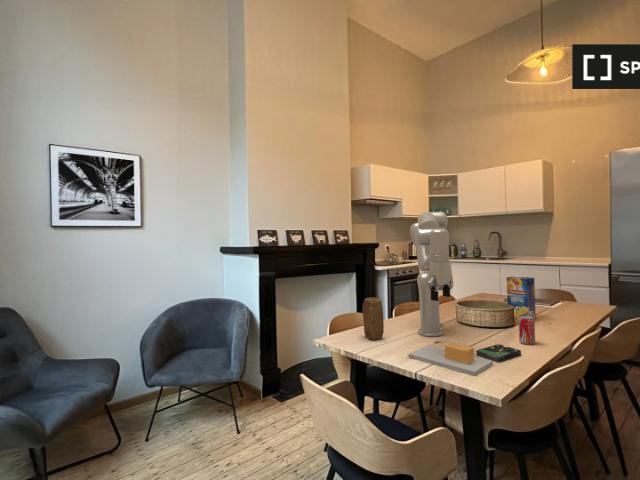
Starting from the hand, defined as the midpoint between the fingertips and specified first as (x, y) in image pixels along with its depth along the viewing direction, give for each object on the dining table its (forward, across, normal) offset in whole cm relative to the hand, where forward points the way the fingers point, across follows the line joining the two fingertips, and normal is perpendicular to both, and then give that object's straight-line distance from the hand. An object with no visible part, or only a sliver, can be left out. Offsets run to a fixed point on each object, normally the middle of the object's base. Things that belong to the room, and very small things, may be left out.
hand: (440, 298), depth 146 cm
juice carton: (+27, -83, +4) cm, 87 cm away
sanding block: (+22, +7, +11) cm, 25 cm away
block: (+25, +2, -36) cm, 44 cm away
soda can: (+24, -37, +21) cm, 49 cm away
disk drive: (+24, -12, +18) cm, 33 cm away
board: (+23, +7, +7) cm, 25 cm away
